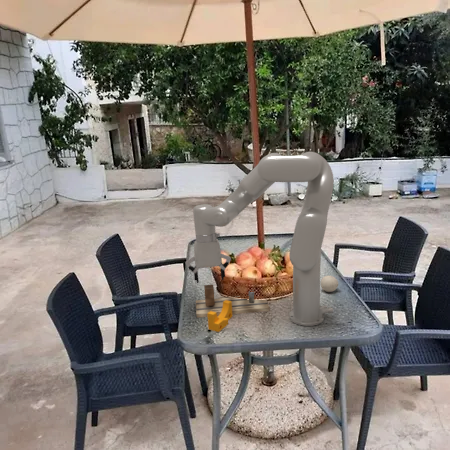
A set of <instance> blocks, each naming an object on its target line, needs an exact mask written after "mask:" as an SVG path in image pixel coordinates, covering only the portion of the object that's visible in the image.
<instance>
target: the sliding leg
mask: <svg viewBox="0 0 450 450" xmlns="http://www.w3.org/2000/svg"><path fill="white" fill-rule="evenodd" d="M203 286H204V289H203V290H204V300H205V303H206V306H213V305H215V300H214V299H215V289H214V284H204V285H203Z"/></svg>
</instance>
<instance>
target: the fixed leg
mask: <svg viewBox="0 0 450 450" xmlns="http://www.w3.org/2000/svg"><path fill="white" fill-rule="evenodd" d="M250 291H251V290H249V291H248V296H249V303H254V302H255V300H254V295H255V291H254V292H250Z"/></svg>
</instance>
